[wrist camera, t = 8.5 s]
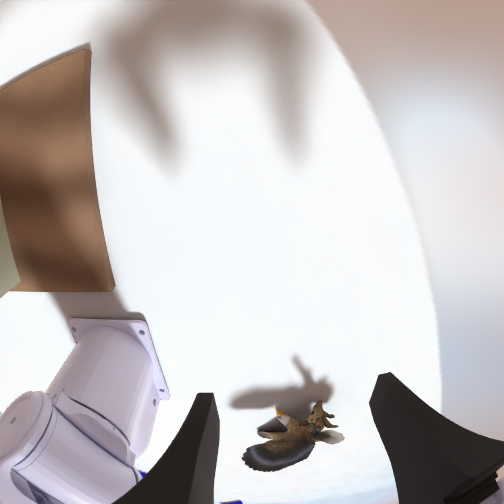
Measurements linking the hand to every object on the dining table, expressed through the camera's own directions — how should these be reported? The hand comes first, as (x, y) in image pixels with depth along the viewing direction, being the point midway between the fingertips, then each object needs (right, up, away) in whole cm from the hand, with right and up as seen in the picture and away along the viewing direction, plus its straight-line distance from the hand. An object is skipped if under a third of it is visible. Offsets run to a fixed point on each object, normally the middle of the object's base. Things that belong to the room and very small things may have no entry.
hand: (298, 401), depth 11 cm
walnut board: (-24, +12, +6) cm, 27 cm away
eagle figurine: (+2, -11, +16) cm, 19 cm away
